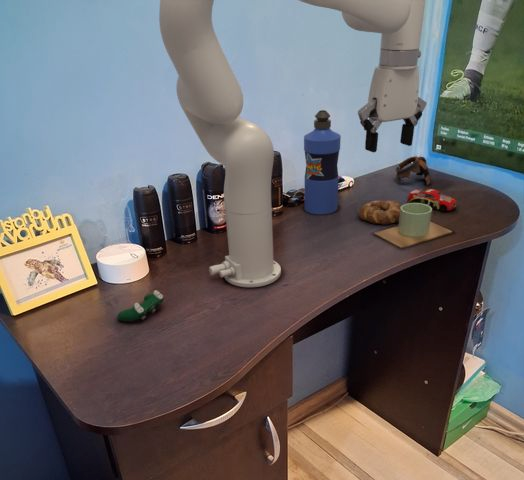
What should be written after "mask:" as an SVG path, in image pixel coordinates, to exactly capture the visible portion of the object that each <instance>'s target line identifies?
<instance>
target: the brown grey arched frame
mask: <svg viewBox="0 0 524 480" xmlns="http://www.w3.org/2000/svg"><path fill="white" fill-rule="evenodd" d="M395 172H396V175H395V178H396V179H397V180H398V181H400V180H401V179H404V178H407V179H411V173H415V174H416V176H424V177H423V179H424V181H425V185H426V186H428V185H430V183H431V175H430V170H429V167H428V165H427V159H426V158H425V157H424V156H419V157H418V156H416V155H414V156H411V157H408V158H406V159H404V160H403V161H400V163H399V164H398V166H397V167H395Z"/></svg>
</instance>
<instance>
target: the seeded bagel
mask: <svg viewBox="0 0 524 480" xmlns="http://www.w3.org/2000/svg"><path fill="white" fill-rule="evenodd" d="M401 206H402V205H400V202H398V201H396V200H393V199H392V200H391V199H390V200H389V199H388V200H386V201H385V200H381V199H375V200H372V201H369V202H367V203H364V204H363V205H361V207H360V208H359V210H358V216H359V218H360V219H361V220H363V221H366V222H367V221H368V223H371V224H374V225H375V224H380V225H384V226H386V225H391V224H396V223H399V216H400V208H401Z"/></svg>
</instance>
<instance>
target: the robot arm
mask: <svg viewBox="0 0 524 480" xmlns="http://www.w3.org/2000/svg"><path fill="white" fill-rule="evenodd" d="M298 1H299V2H302V3H305V4H308V5H310V6H314V7H319V8H326V9H330V10H335V11H338V12H341V16H342V19H343V21H344V23H345V24H346V25H347V26H348V27H349V28H351V29H353V30H354V31H359V32H365V33H376V34H381V38H380V49H379V59H378V66H375V67H374V70H373V74H372V76H371V77H372V78H371V81H370V86H369V91H368V97H367V98H368V99H367V103H365V104H364V105H363V106H362V107H361V108H360V109H358V110H357V116H358V118H359V120H360V121H359V123H360V124H361V126H362V128H363V130H364V131H365V141H364V142H365V143H364V149H365V150H366V151H367V152H371V153H376V152H377V150H378V141H379V132H377V131H378V129H379V127H380V126H381V125H382V123H387V122H393V121H399V120H401V121H403V122H404V123H402V126H401V133H400V141H399V142H400V144H401V145H404V146H407V147H411V146H413V141H414V140H413V139H414V134H415V127H416V126H417V125H418V123H419V120H420V119H421V117H422V116H423V112H424V111H425V108H426V107H427V101H425V100H424V99H423V98H421V97H419V89H420V68H419V67H420V66H419V65H418V61H419V60H418V59H420V57H421V56H422V52H421V50H420V45H421V38H422V30H423V23H424V15H425V6H426V0H298ZM214 2H215V0H160V1H159V12H158V13H159V15H158V16H159V20H158V21H159V31H160V35H161V39H162V43H163V45H164V48H165V51H166V53H167V54H168V57H169V59H170V61H171V62H172V64H173V67H174V70H175V71H176V73H177V75H178V77H177V80H176V86H175V87H176V88H175V89H176V96H177V100H178V103H179V105H180V107H181V109H182V111H183V112H184V114H185V115H184V116H186V118H187V120H188V122H189V124H190V126H191V127H192V129H193V130H194V132H195V134H196V135H197V137H198V139H199V141H200V142H201V144H202V146H203V147H204V149H205V151H206V152H207V153H208V155H210V157H212V159H213V160H215V161H217V162H218V163H219V164H220V165H222V166H223V167H224V169H225V170H224V171H225V173H224V175H225V177H224V183H223V201H224V202H223V204H224V214H225V225H226V235H227V246H228V255H225V256H224V261H222V262H221V263H220V264H215V265H210V266H209V267H208V272H209V275H210V276H215V275H218V274H219V277H220V278H224V279H225V281H226V282H228V283H229V284H231V285H232V286H235V287H241V288H259V287H260V288H261V287H264V286H268V285H270V284H272V283H274V282H276V281H278V279H279V278H280V277H281V275H282V267H281V264H279V263H278V262H276V261H275V260H274V236H273V235H274V234H273V232H274V231H273V208H272V207H273V206H272V177H273V176H272V175H273V168H274V159H275V150H274V144H273V141H272V139H271V137H270V136H269V134H268V133H267V132H266V130H264V129H263V128H262V127H261V126H259V125H258V124H256V123H254V122H251V121H249V120H247V119H245V118H243V117H241V113H242V111H243V107H244V94H243V91H242V87H241V84H240V83H239V81H238V79H237V77H236V75H235V73H234V71H233V69H232V67H231V65H230V63H229V61H228V59H227V57H226V55H225V52H224V51H223V49H222V47H221V44H220V42H219V40H218V37H217V35H216V32H215V29H214V25H213V6H214Z"/></svg>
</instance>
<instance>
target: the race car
mask: <svg viewBox="0 0 524 480" xmlns="http://www.w3.org/2000/svg"><path fill="white" fill-rule="evenodd" d="M407 202H408V203H422V204H426V205H428V206H430V207H431V208H432V209H435V210H440V211H441V212H442V213H444V212H446V211H453V210H455V209H456V208H457V206H458V204H457V200H456V199H455V198H454V197H452V196H448V195H445V194H444V192H441V191H439V190H437V189H434V188H420V189H413V190H411V191H410V192H409V193H408V196H407Z"/></svg>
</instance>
